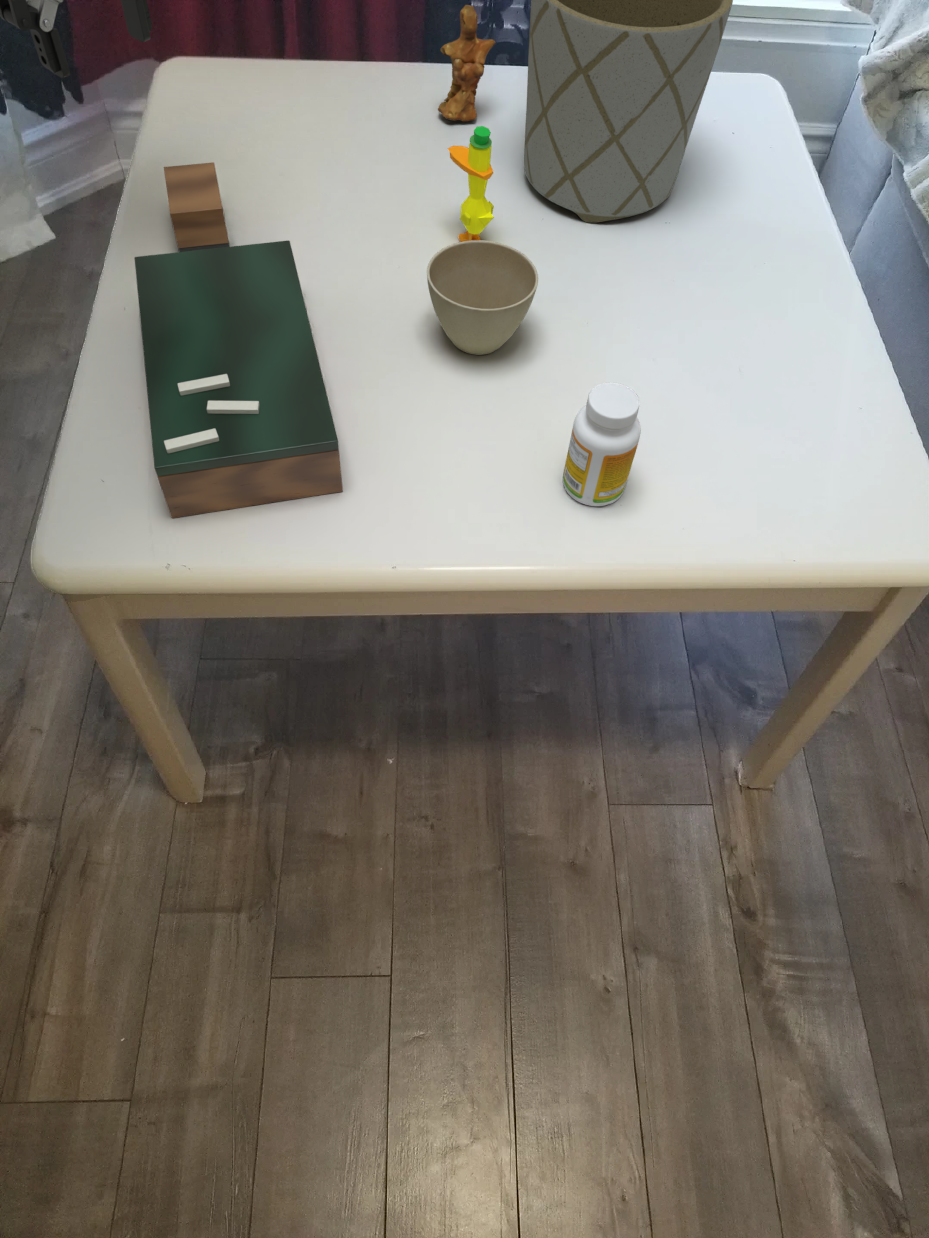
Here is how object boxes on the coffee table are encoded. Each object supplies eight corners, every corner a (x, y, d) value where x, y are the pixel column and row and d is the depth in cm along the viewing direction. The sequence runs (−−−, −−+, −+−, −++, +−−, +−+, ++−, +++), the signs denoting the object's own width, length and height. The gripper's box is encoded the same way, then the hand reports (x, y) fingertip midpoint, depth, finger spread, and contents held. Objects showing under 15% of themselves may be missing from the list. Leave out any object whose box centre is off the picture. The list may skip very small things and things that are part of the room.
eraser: (231, 253, 93) (222, 208, 89) (180, 259, 92) (169, 213, 88) (222, 207, 97) (214, 162, 93) (174, 212, 96) (163, 166, 92)
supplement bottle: (630, 470, 79) (656, 386, 71) (616, 515, 76) (640, 432, 68) (571, 453, 80) (589, 368, 72) (554, 497, 77) (571, 413, 69)
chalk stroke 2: (167, 454, 70) (166, 449, 69) (164, 445, 70) (163, 440, 70) (219, 441, 71) (218, 436, 70) (216, 432, 71) (215, 427, 71)
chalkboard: (171, 518, 74) (154, 468, 69) (150, 311, 87) (134, 256, 82) (342, 491, 76) (338, 441, 71) (296, 294, 90) (289, 239, 85)
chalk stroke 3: (207, 413, 72) (206, 409, 72) (208, 404, 73) (207, 400, 72) (258, 414, 72) (257, 409, 72) (259, 405, 73) (258, 400, 73)
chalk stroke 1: (180, 396, 73) (179, 391, 73) (178, 387, 74) (177, 383, 73) (230, 386, 74) (229, 381, 74) (227, 378, 75) (226, 373, 74)
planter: (716, 199, 102) (776, 1, 86) (583, 252, 96) (620, 50, 79) (609, 118, 110) (644, -77, 94) (480, 162, 104) (493, -39, 87)
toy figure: (435, 230, 97) (438, 116, 86) (460, 218, 98) (466, 104, 88) (478, 262, 94) (486, 148, 84) (503, 248, 95) (514, 135, 85)
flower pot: (510, 385, 84) (517, 322, 78) (409, 355, 86) (409, 291, 80) (542, 319, 90) (552, 256, 84) (447, 293, 91) (450, 228, 85)
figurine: (479, 133, 107) (486, 21, 97) (432, 123, 108) (435, 11, 98) (490, 114, 110) (498, 3, 100) (445, 104, 110) (448, -7, 100)
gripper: (84, -221, 70) (137, 13, 83) (-85, -176, 63) (3, 70, 77) (149, -194, 67) (193, 42, 81) (-19, -144, 61) (59, 103, 74)
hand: (100, 56), depth 79 cm, fingers open, 8 cm apart
